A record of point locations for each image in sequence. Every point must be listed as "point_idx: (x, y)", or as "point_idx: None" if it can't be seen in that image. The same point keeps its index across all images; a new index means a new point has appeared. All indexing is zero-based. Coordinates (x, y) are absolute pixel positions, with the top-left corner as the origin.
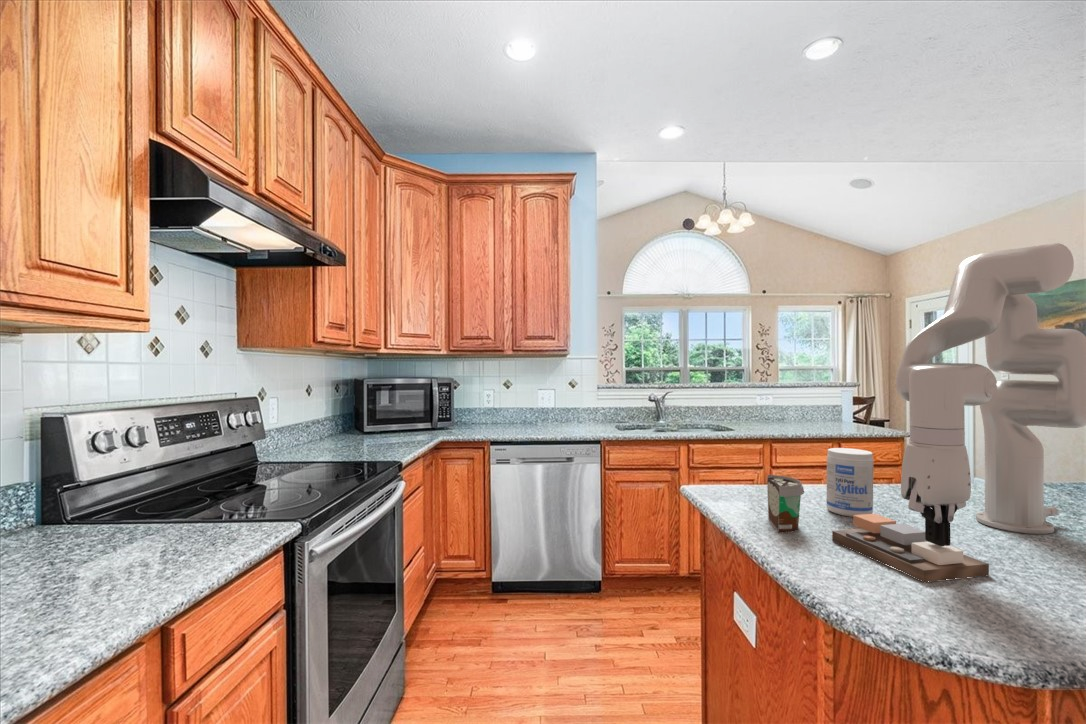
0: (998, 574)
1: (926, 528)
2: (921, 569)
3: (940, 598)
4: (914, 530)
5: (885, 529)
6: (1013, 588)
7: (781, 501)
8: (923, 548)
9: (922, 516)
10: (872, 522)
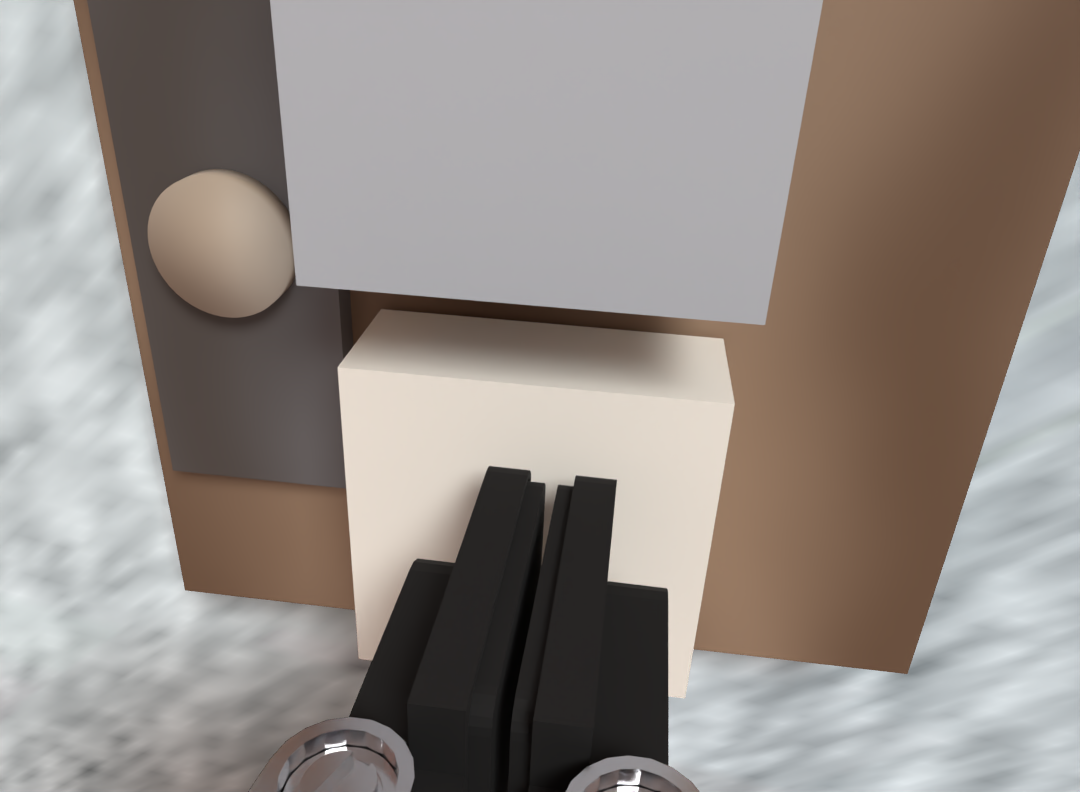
0: (1001, 601)
1: (385, 637)
2: (182, 569)
3: (152, 687)
4: (629, 203)
5: None
6: (780, 752)
7: None
8: (353, 505)
9: (282, 758)
10: None
